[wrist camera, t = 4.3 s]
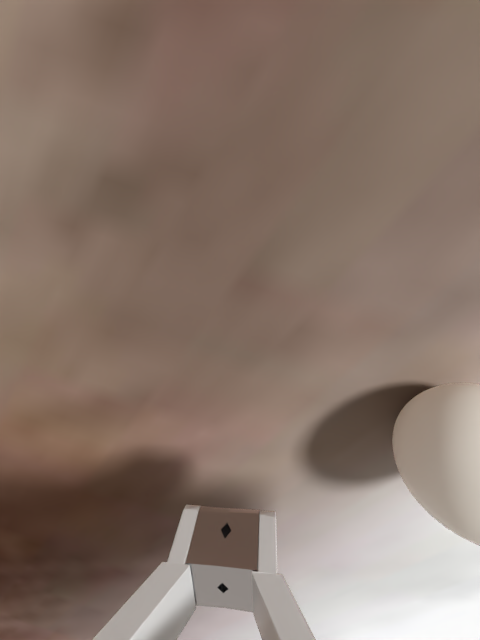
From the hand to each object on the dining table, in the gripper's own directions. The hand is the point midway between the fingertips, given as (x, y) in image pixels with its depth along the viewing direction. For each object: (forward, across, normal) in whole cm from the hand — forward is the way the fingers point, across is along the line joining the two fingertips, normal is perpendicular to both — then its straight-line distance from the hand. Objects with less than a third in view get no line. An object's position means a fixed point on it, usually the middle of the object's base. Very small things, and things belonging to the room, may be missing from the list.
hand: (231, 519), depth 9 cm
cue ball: (+2, -9, -1) cm, 9 cm away
